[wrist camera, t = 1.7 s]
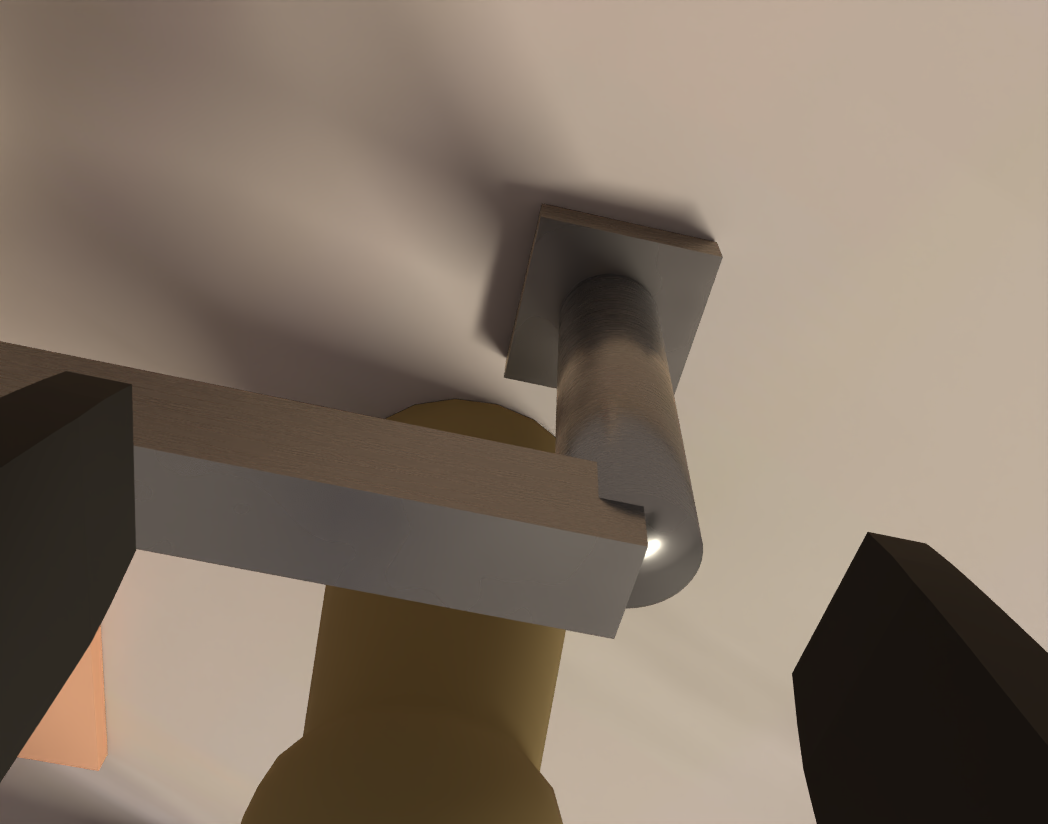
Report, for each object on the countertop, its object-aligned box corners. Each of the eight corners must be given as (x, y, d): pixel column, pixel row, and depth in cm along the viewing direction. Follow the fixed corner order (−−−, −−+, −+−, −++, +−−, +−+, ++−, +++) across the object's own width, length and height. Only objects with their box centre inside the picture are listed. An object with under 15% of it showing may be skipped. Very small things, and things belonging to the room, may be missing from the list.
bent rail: (493, 890, 30) (468, 1230, 23) (-295, 759, 28) (-608, 1080, 21) (717, 241, 18) (821, 511, 10) (-646, -61, 16) (-1702, 1, 9)
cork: (289, 483, 22) (72, 956, 12) (481, 351, 19) (397, 800, 10) (450, 631, 24) (372, 1122, 15) (637, 527, 22) (688, 1025, 12)
